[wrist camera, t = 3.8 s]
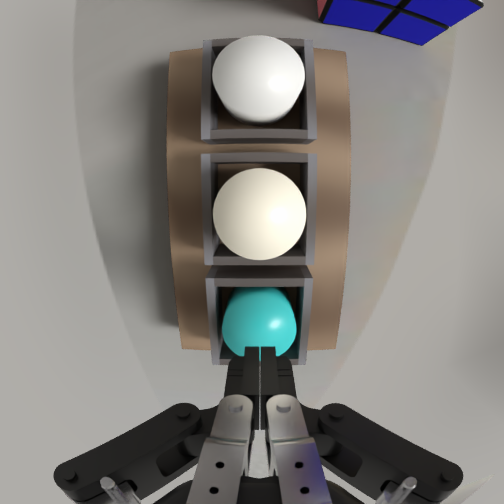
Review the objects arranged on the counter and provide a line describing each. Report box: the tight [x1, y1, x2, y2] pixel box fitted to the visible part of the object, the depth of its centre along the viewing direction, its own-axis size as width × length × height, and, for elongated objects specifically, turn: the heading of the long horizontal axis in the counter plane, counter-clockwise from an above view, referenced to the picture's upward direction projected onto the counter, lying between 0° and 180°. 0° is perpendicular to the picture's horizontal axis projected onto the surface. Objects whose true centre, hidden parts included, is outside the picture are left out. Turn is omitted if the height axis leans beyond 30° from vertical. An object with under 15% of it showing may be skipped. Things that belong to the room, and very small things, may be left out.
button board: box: [167, 38, 351, 366], centre depth 18 cm, size 22×12×6 cm, turn 0°
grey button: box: [212, 35, 305, 126], centre depth 13 cm, size 4×4×4 cm
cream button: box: [213, 168, 306, 260], centre depth 15 cm, size 4×4×4 cm
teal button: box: [222, 287, 296, 361], centre depth 18 cm, size 4×4×4 cm
